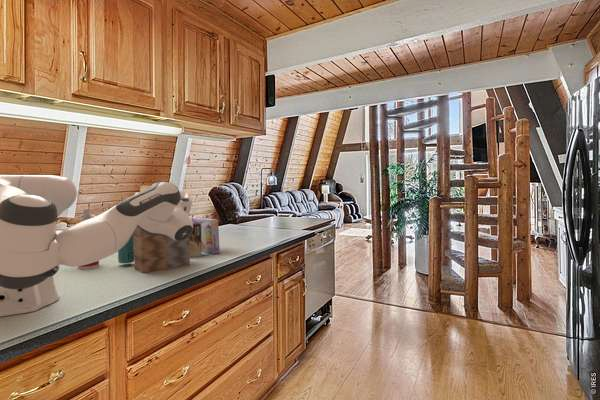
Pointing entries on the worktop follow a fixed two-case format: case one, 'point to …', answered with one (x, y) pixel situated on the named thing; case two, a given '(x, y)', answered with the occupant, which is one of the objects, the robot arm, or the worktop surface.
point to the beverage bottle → (127, 252)
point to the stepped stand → (159, 252)
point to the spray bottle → (94, 264)
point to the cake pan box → (209, 234)
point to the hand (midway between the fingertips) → (156, 189)
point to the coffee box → (195, 241)
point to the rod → (144, 188)
